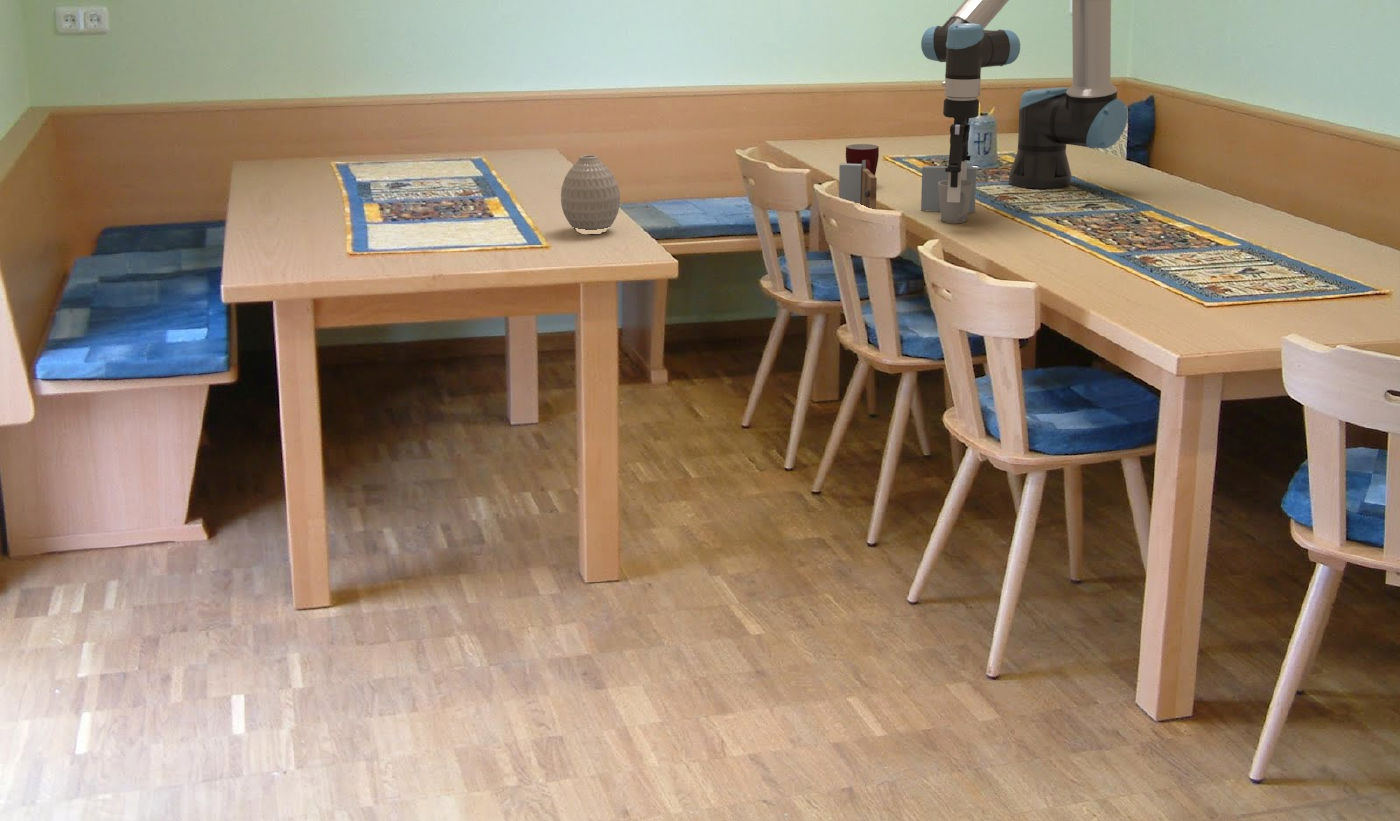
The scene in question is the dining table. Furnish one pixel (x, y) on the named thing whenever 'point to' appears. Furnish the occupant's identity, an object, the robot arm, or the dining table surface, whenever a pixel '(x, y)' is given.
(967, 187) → the cup
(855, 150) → the mug
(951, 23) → the robot arm
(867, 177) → the door
